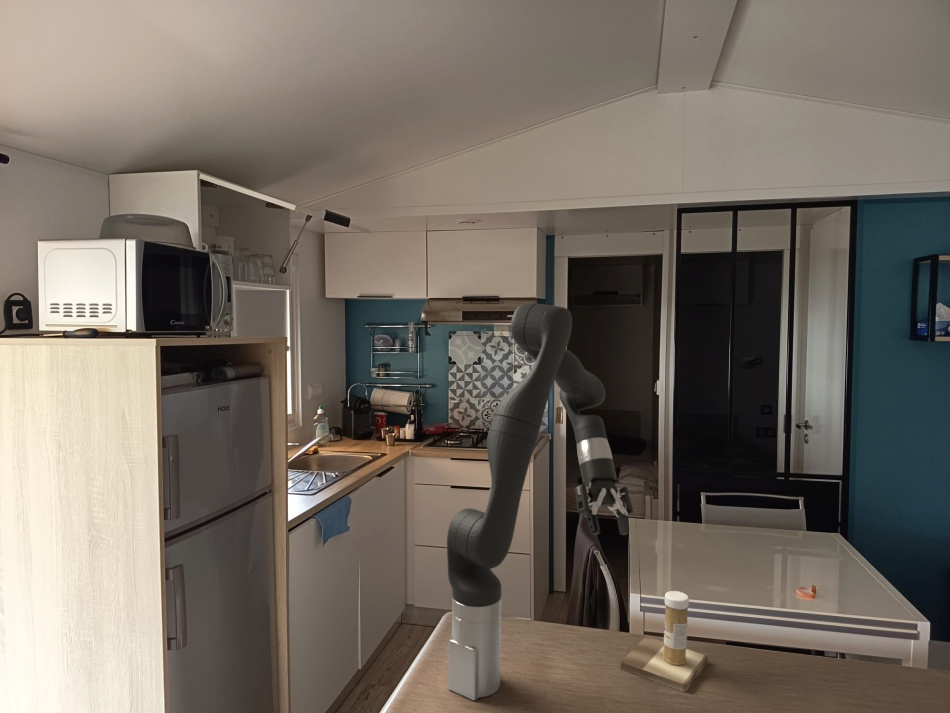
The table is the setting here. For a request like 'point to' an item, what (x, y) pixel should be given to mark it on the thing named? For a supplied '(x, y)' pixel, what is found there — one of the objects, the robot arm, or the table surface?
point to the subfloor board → (663, 665)
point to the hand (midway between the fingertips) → (610, 534)
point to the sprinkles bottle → (675, 627)
